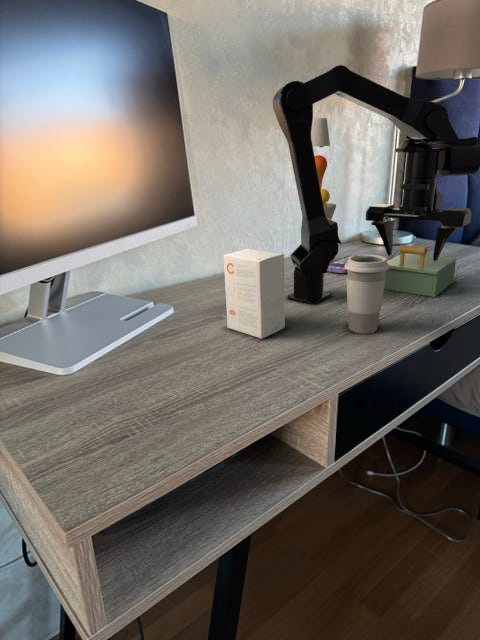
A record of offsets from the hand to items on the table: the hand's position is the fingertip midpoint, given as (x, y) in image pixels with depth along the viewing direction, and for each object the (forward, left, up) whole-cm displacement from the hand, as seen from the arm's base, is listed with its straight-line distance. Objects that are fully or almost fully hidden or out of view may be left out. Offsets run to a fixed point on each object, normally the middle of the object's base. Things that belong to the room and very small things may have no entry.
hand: (411, 257), depth 90 cm
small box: (-34, +14, -7) cm, 38 cm away
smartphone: (+12, +20, -7) cm, 24 cm away
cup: (-24, -1, -7) cm, 25 cm away
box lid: (+5, 0, -2) cm, 5 cm away
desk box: (+5, 0, -7) cm, 9 cm away
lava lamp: (+11, +28, -7) cm, 31 cm away
